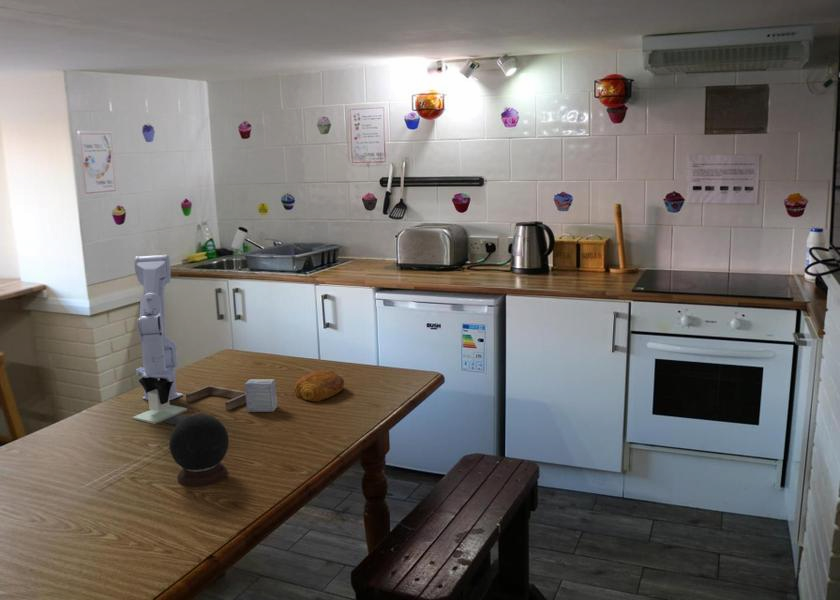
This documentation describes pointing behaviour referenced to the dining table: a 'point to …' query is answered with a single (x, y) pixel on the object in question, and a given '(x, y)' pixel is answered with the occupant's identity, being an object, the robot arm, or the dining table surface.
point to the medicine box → (261, 395)
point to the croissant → (319, 385)
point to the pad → (159, 414)
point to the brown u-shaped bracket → (236, 395)
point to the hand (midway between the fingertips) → (158, 401)
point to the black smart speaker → (199, 450)
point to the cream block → (156, 401)
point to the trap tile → (175, 419)
